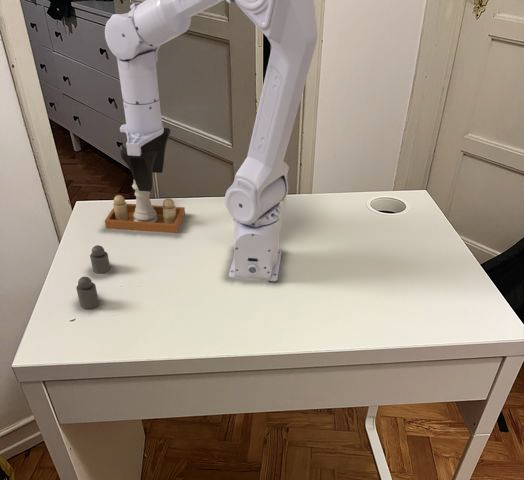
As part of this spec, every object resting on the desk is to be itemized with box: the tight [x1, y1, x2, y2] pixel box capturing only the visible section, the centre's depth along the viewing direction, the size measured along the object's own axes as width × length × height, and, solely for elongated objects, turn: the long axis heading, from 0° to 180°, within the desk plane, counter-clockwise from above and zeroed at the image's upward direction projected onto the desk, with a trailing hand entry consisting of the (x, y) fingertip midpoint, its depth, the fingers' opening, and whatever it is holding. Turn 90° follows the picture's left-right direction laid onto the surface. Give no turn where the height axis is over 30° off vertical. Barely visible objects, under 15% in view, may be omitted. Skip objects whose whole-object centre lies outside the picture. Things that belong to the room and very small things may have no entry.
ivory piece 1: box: [112, 194, 129, 221], centre depth 105 cm, size 2×2×5 cm
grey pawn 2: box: [89, 244, 111, 275], centre depth 92 cm, size 3×3×5 cm
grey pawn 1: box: [75, 276, 100, 310], centre depth 85 cm, size 3×3×5 cm
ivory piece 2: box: [162, 197, 177, 224], centre depth 104 cm, size 2×2×5 cm
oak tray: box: [104, 203, 186, 234], centre depth 105 cm, size 7×13×2 cm, turn 84°
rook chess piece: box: [131, 179, 158, 223], centre depth 103 cm, size 4×4×8 cm
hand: (151, 180), depth 99 cm, fingers open, 7 cm apart
